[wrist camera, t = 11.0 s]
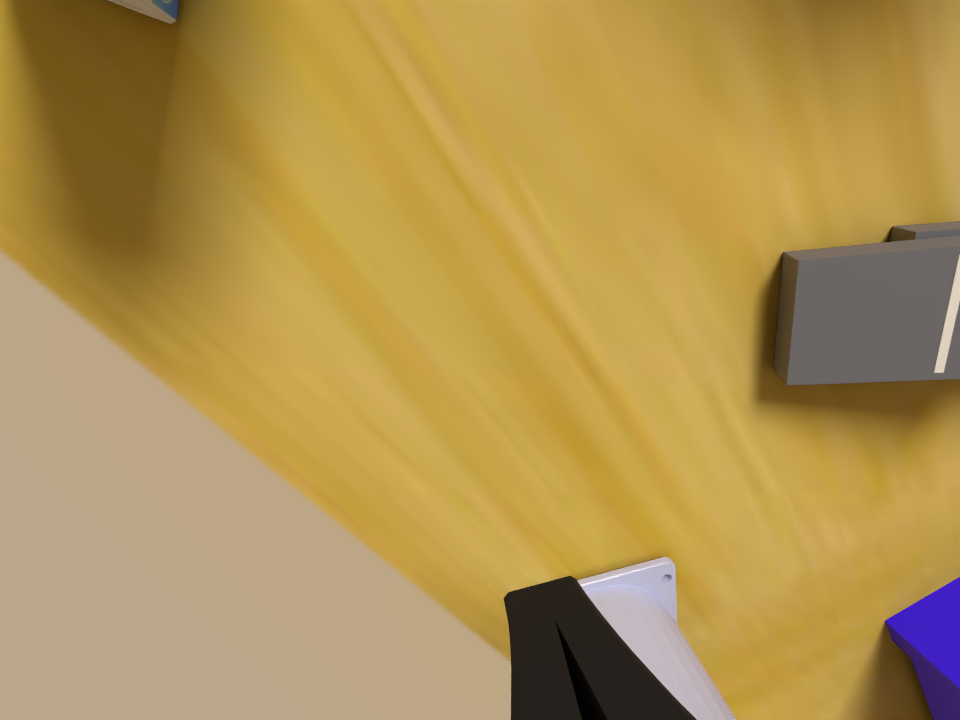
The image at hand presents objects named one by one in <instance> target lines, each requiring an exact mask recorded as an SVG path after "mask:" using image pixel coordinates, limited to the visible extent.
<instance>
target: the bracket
mask: <svg viewBox="0 0 960 720" xmlns="http://www.w3.org/2000/svg"><path fill="white" fill-rule="evenodd" d="M885 622H886V625H887V627H888V630H889V633H890V635H891V638H892V640H893V641H894V642H895V643H896V644H897V645H898V646H899V647H900V648H901V649H902V650H903V651H904V652H905V653H906V654H907V655H909V656H910V657H911V660H912V662H913V665H914V668H915V670H916V673H917V676H918V679H919V681H920V684H921V687H922V689H923V692H924V695H925V698H926V700H927V703H928V706H929V708H930V711H931V714H932V716H933V719H934V720H960V577H959V578H957V579H955V580H954V581H952V582H950V583H949V584H947V585H945V586H944V587H942V588H940V589H938V590H937V591H935V592H933V593H932V594H930V595H928V596H926V597H925V598H923V599H921V600H920V601H918V602H916V603H915V604H913V605H911V606H909V607H908V608H906V609H904V610H903V611H901V612H899V613H897V614H896V615H894V616H892V617H891V618H889V619H887V620H886V621H885Z"/></svg>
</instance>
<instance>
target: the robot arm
mask: <svg viewBox="0 0 960 720" xmlns="http://www.w3.org/2000/svg"><path fill="white" fill-rule="evenodd" d="M664 575H665V576H664ZM504 602H505V607H506V613H507V618H508V624H509V632H510V645H511V669H512V671H511V673H512V674H511V720H737V719H736V717H735V716H734V714H733V713H732V711H731V709H730V708H729V706H728V705H727V703H726V702H725V700H724V698H723V697H722V695H721V694H720V692H719V690H718V689H717V687H716V686H715V684H714V683H713V681H712V679H711V678H710V676H709V675H708V673H707V671H706V670H705V668H704V667H703V665H702V664H701V662H700V660H699V659H698V657H697V656H696V654H695V653H694V651H693V649H692V648H691V646H690V645H689V643H688V641H687V640H686V638H685V637H684V635H683V634H682V632H681V630H680V629H679V627H678V626H677V600H676V567H675V564H674V563H673V561H672V560H671V559H670V558H668V557H662V558H658V559H654V560H651V561H647V562H643V563H639V564H636V565H632V566H628V567H624V568H621V569H617V570H613V571H610V572H606V573H602V574H598V575H595V576H591V577H587V578H583V579H580V580H576V579H575V578H573V577H571V576H568V577H564V578H560V579H557V580H553V581H549V582H545V583H542V584H538V585H534V586H530V587H527V588H523V589H519V590H515V591H512V592H509V593H508V594H507V595H506V596H505V597H504Z"/></svg>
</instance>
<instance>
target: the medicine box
mask: <svg viewBox="0 0 960 720" xmlns="http://www.w3.org/2000/svg"><path fill="white" fill-rule="evenodd" d="M108 1H110V2H113V3H115V4H118V5H121V6H123V7H126V8H129V9H131V10H134V11H137V12H139V13H142V14H144V15H147V16H150V17H152V18H155V19H158V20H160V21H163V22H166V23H169V24H172V23H174V22H176V21H177V15H178V5H179V0H108Z"/></svg>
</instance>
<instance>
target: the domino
mask: <svg viewBox="0 0 960 720" xmlns="http://www.w3.org/2000/svg"><path fill="white" fill-rule="evenodd" d="M773 369H774V371H775V372H776V373H777V374H778V375H779V377H780V378H781V379H782V380H783V381H784V383H785V384H786V385H813V384H840V383H867V382H894V381H921V380H947V379H960V235H957V236H947V237H936V238H926V239H916V240H905V241H895V242H884V243H874V244H864V245H853V246H843V247H832V248H822V249H812V250H801V251H791V252H783V260H782V272H781V284H780V296H779V308H778V319H777V331H776V343H775V355H774V367H773Z"/></svg>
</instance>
